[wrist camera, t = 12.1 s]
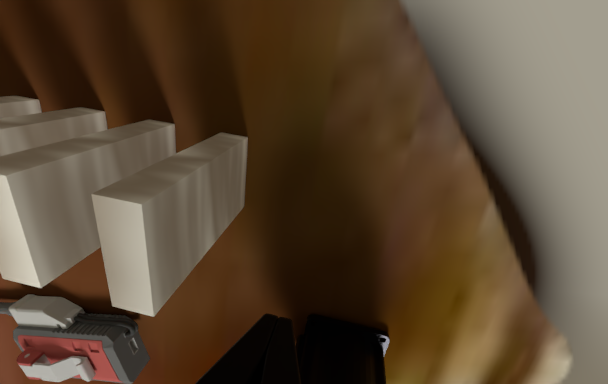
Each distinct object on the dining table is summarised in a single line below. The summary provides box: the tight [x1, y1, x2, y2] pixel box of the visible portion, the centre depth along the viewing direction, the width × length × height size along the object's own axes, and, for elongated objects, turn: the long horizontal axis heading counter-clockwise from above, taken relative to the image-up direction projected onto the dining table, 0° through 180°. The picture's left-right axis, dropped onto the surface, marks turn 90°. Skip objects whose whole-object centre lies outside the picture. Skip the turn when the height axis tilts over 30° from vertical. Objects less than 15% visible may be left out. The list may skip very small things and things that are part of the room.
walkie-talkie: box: [0, 294, 150, 384], centre depth 28 cm, size 9×4×20 cm
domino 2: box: [0, 119, 176, 288], centre depth 15 cm, size 2×5×10 cm, turn 172°
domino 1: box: [0, 107, 108, 156], centre depth 16 cm, size 2×5×10 cm, turn 172°
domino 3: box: [91, 132, 248, 317], centre depth 15 cm, size 2×5×10 cm, turn 172°
